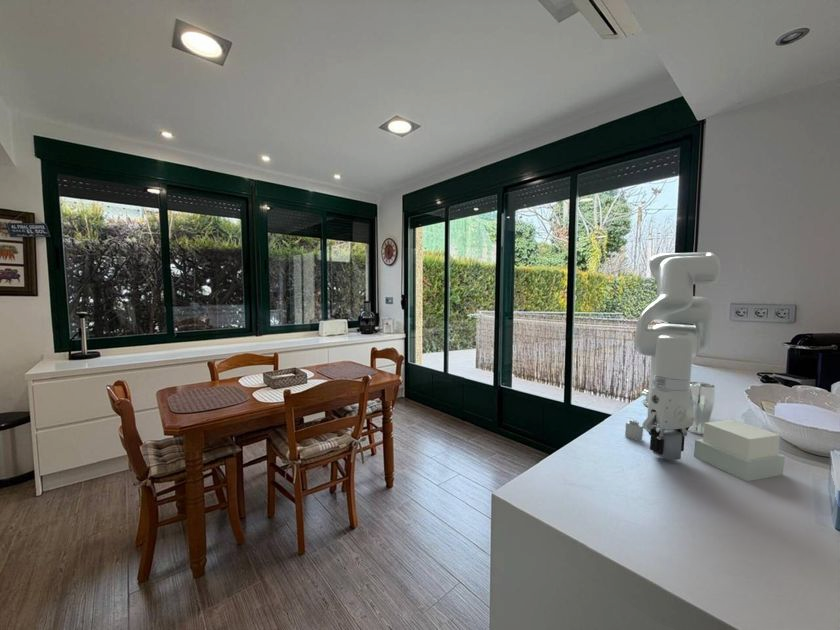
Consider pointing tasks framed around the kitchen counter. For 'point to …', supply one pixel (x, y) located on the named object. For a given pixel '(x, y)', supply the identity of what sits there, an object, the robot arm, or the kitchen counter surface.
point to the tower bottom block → (739, 462)
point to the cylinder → (671, 445)
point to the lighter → (634, 430)
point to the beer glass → (701, 405)
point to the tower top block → (741, 439)
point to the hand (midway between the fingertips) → (666, 449)
